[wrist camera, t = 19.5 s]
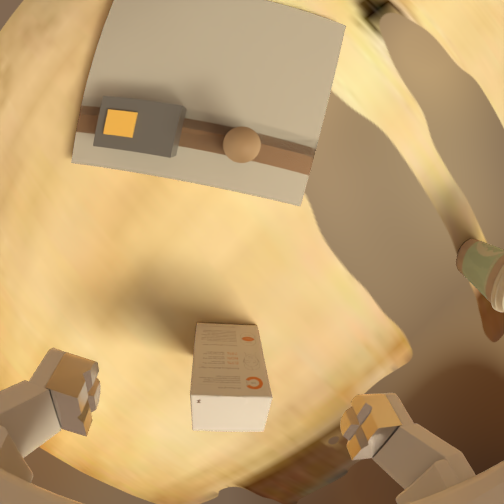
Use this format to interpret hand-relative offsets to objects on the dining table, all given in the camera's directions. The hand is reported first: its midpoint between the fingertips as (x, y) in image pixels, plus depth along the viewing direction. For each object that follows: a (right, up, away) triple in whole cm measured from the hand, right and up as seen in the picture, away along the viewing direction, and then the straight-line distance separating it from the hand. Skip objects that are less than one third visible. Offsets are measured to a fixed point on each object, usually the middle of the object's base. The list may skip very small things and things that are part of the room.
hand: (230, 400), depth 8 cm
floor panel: (-4, +22, +20) cm, 30 cm away
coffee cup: (+35, +4, +31) cm, 47 cm away
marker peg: (-1, +15, +22) cm, 27 cm away
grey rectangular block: (-10, +17, +20) cm, 28 cm away
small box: (-3, -8, +32) cm, 33 cm away
